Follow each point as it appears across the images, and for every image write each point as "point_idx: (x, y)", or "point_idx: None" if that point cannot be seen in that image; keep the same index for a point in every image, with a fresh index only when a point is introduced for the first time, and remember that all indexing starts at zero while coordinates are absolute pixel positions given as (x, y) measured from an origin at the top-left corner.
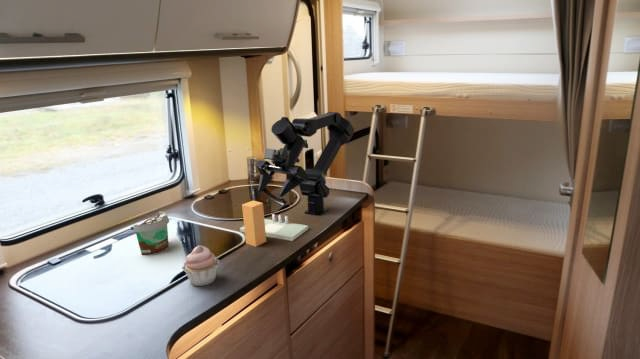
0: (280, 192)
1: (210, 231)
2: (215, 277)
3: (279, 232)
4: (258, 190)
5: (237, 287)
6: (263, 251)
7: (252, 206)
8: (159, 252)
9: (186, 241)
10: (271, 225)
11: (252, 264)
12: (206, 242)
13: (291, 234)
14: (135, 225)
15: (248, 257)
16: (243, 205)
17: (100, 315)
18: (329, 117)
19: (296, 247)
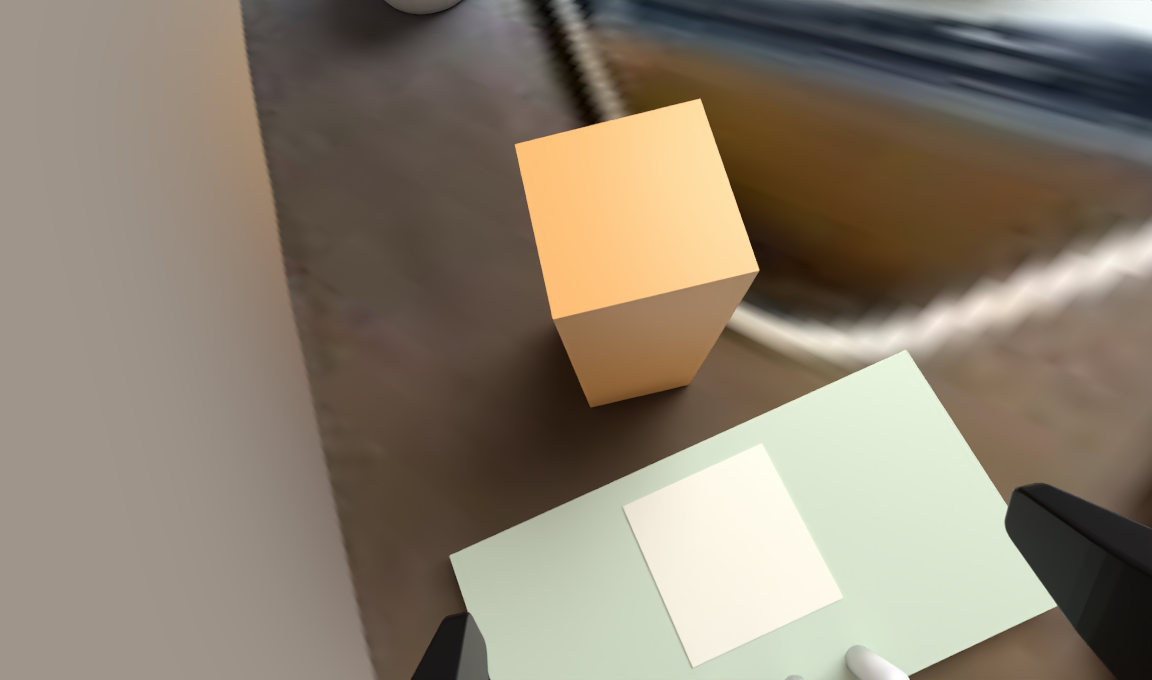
0: (449, 661)
1: (1041, 203)
2: (390, 4)
3: (602, 539)
4: (1036, 486)
5: (261, 54)
6: (474, 314)
7: (538, 161)
8: None
9: (956, 40)
10: (783, 580)
11: (386, 192)
12: (855, 120)
13: (497, 588)
14: None
15: (474, 213)
16: (671, 109)
17: None
18: None
19: (357, 505)
